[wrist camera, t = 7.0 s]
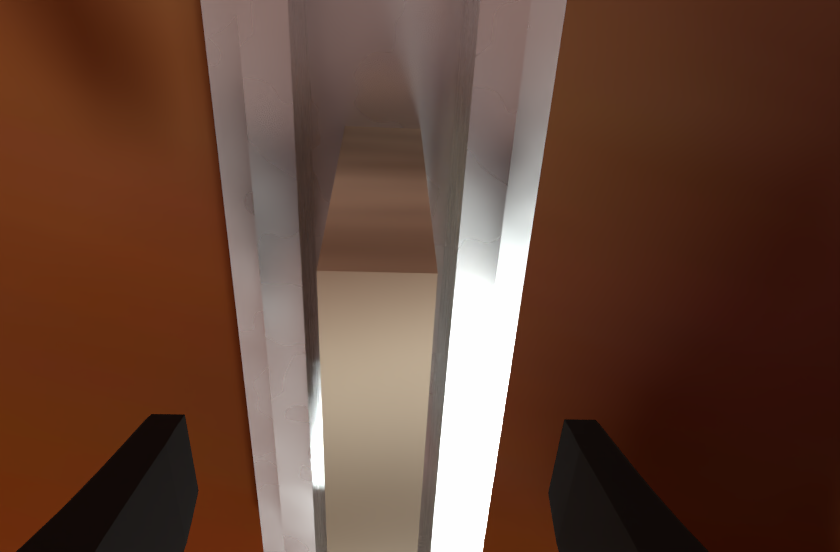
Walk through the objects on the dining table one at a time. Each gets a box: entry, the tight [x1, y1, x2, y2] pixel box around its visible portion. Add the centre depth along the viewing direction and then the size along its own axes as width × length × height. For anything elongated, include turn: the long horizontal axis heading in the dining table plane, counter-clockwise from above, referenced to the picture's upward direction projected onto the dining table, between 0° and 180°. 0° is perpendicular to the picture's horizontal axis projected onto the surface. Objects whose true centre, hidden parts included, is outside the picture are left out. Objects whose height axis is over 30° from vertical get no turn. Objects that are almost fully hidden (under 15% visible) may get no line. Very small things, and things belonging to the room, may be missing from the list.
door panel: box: [317, 126, 438, 552], centre depth 14 cm, size 10×2×6 cm, turn 177°
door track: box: [201, 0, 567, 552], centre depth 16 cm, size 18×7×4 cm, turn 177°
